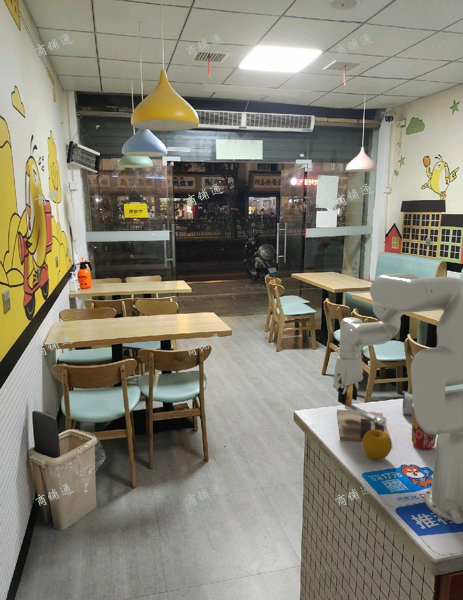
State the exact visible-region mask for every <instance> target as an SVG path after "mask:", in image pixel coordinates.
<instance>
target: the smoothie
mask: <svg viewBox="0 0 463 600" xmlns="http://www.w3.org/2000/svg"><path fill="white" fill-rule="evenodd" d="M412 406H413V404H412ZM436 441H437V435H432V434H428V433H426V432H424V431H423V430H422V429H421V428H420V426H419V425H418V423H417V421H416V418H415V414H414V407H412V415H411V442H412V444H413V446H414V447H415V448H416V449H418V450H420V451H431V450H433V448H434V447H436Z"/></svg>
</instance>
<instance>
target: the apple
mask: <svg viewBox="0 0 463 600" xmlns="http://www.w3.org/2000/svg"><path fill="white" fill-rule="evenodd" d="M389 436H390V434H389V435H388V434H386V433H385V432H383V431H381V430H369V431H367V432H366V433H365V435H364V437H363V440H362V443H361V446H362V448H363V451H364V453H365V455H366V456H367V457H368V459H371V460H372V461H383V460H384V459H385V458H386V457H388V456H389V454H390V453H391V450H392V440H391V437H389Z"/></svg>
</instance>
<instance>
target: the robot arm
mask: <svg viewBox="0 0 463 600" xmlns="http://www.w3.org/2000/svg"><path fill="white" fill-rule="evenodd" d="M369 289H370V290H369V295H370V298H371V300H372V301H373V304H372V312H373V313H374V316H375V317H376V318H377V319H378V320H379V321H374V322H363V320H362V319H360V318H359V317H358V318H357V317H354V316H353V317H349V316H348V317H344V318H342V319H341V321H340V328H339V329H340V330H339V331H340V332H339V349H338V351H339V352H338V356H337V359H336V363H335V367H334V375H333V382H334V383H333V385H332V387H333V388H334V389H335V390H336V392H337V402H338V403H340V404H342V405H343V404H344V405H343V406H345V404H346V394H345V392H346V388H347V386H348V385H351V384H353V394H352V401H357V400H358V391H359V389H360V385H361V383H362V381H363V380H364V376H363V360H362V359H363V358H362V349H363V347H369V346H375V345H376V346H377V345H384V344H387V343H388V342H390V341H391V340H392V339H393V338H395V336H396V335H397V334H398V333H399V331H400V328H401V317H402V316H403V315H404V314H405V313H422V312H433V311H442V312H443V313H442V314H441V315H440V318H439V320H438V322H437V325H436V337H437V340H436V341H437V345H436V347H427V348H424V349H420V350H419V351H418V352H417V353H416V354H415V355H414V356H413V358H412V360H411V365H410V379H411V380H410V381H411V393H412V395H413V407H414V414H415V418H416V421H417V423H418V425H419V426H420V428H421V429H422V430H423V431H424V432H426V433H428V434H432V435H436V441H435V453H434V462H433V463H434V464H433V471H432V472H433V474H432V480H431V487H429V488H428V489H426V491H424V495H423V500H424V503H425V505H426V507H427V508H428V509H429V510H430V511H432V513H434V514H435V515H436V516H439V517H441V518H443V519H444V520H448V521H452V522H454V523H455V524H457V525H458V524H463V388H456V389H455V388H454V389H450V390H446V387H454V386H459V385H463V280H462V279H460V278H456V277H451V276H435V277H423V278H420V277H419V276H417V275H414V274H411V273H390V274H381V275H379V276H377V277H376V278H375V279H373V281H372V283H371V285H370V287H369Z"/></svg>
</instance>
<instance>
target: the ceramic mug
mask: <svg viewBox="0 0 463 600" xmlns="http://www.w3.org/2000/svg"><path fill="white" fill-rule="evenodd" d="M412 404H413V395H412V394H411V393H407V392H405V393H404V394H403V399H402V415H409V416H412V407H413V406H412Z"/></svg>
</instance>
